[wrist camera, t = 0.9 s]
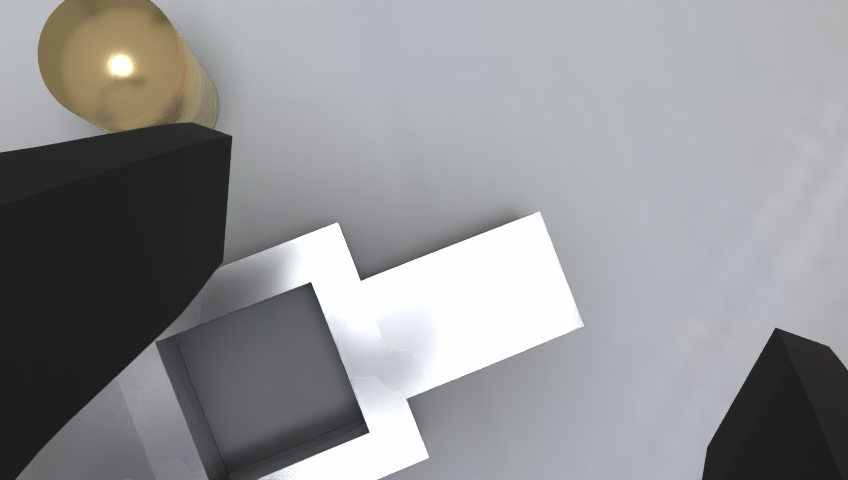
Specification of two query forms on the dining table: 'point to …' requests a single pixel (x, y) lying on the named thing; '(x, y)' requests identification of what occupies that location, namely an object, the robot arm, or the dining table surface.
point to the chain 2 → (367, 340)
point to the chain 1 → (132, 440)
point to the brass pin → (123, 66)
